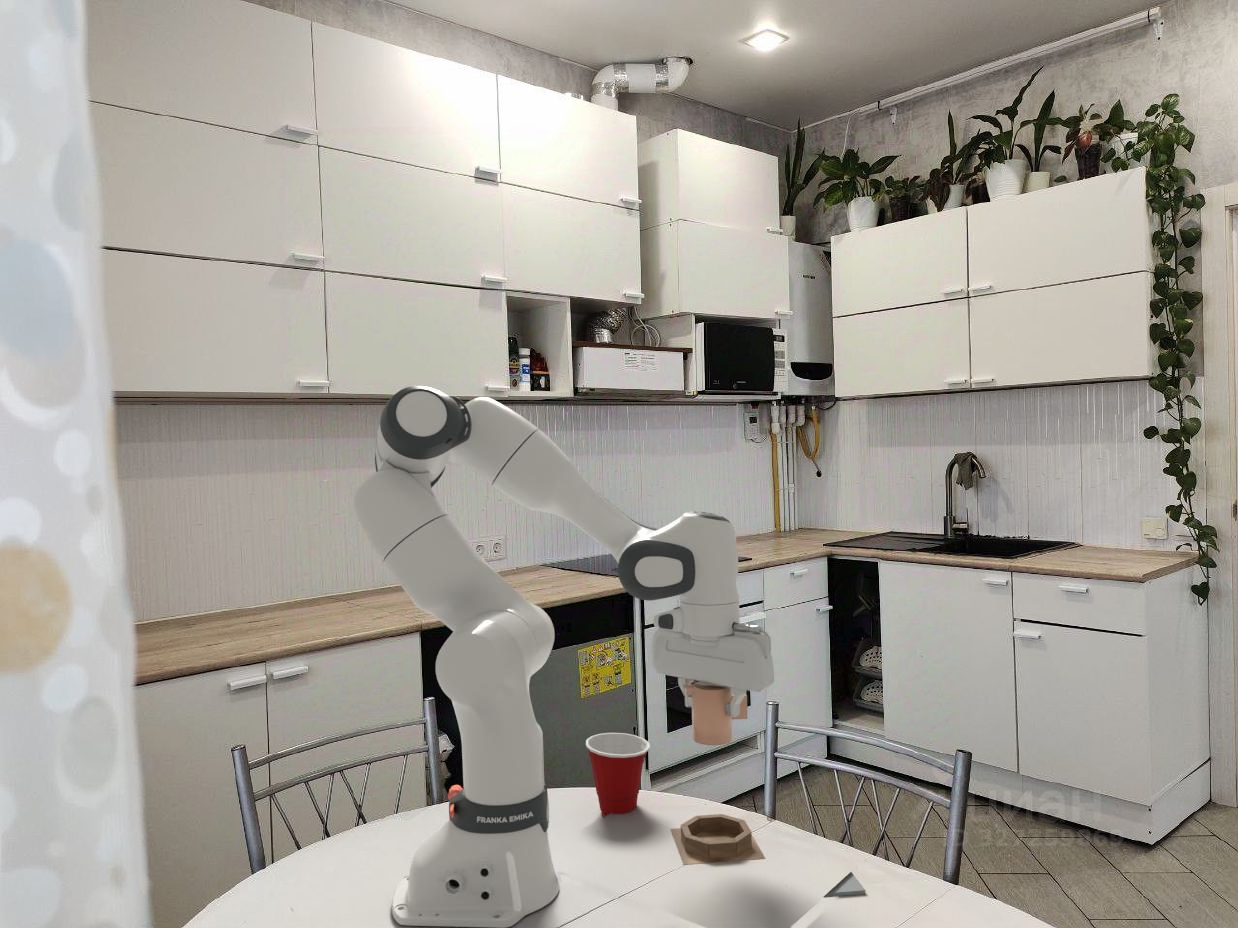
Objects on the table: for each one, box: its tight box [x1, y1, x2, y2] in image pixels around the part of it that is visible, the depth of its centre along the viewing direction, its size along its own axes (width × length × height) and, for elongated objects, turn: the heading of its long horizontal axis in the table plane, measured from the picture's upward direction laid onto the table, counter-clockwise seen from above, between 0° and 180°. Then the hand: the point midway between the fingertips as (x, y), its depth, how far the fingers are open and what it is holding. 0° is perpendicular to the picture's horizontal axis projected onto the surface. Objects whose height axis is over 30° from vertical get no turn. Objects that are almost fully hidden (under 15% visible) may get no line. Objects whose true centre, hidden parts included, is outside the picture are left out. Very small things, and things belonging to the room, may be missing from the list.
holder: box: [670, 813, 766, 866], centre depth 132 cm, size 12×12×3 cm
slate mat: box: [823, 871, 866, 898], centre depth 122 cm, size 10×10×1 cm
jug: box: [685, 681, 748, 746], centre depth 132 cm, size 9×6×8 cm, turn 92°
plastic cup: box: [585, 732, 651, 817], centre depth 146 cm, size 11×11×12 cm
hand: (712, 711), depth 132 cm, fingers closed on jug, 6 cm apart
